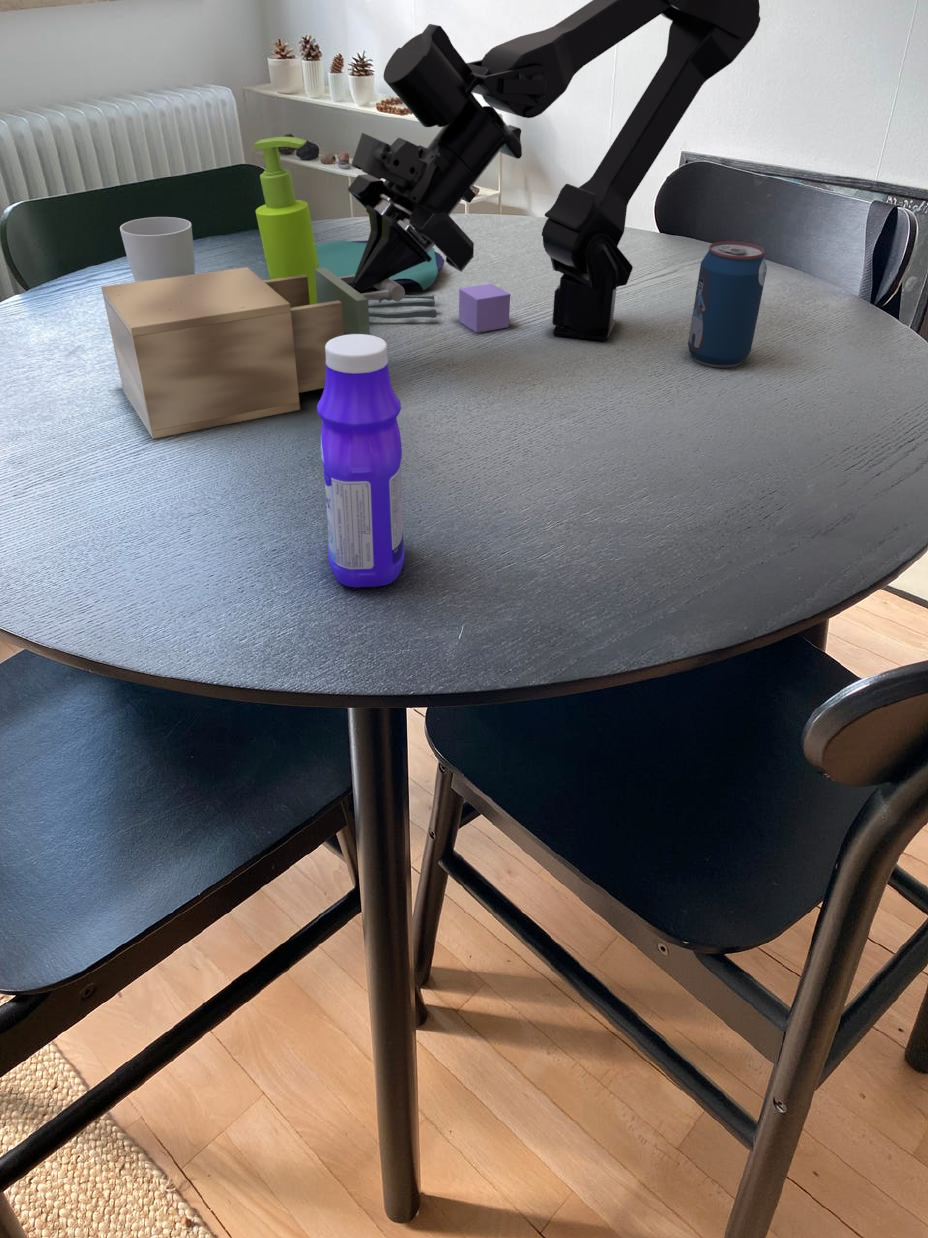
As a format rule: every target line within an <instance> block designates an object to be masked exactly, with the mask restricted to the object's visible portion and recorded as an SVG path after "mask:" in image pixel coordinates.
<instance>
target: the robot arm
mask: <svg viewBox="0 0 928 1238" xmlns="http://www.w3.org/2000/svg"><path fill="white" fill-rule="evenodd" d="M760 8H761V6H760V0H591V1H589V2H588V3H586V4H585V5H583V6H581V8H578V9H577V10H576V11H574V12H573V13H572V14H570V15H569V16H566V17H565V18H563V19H562V20H561V21H560V22H558V23H556V24H555V25H553V26H551V27H549V28H546V29H543V30H540V31H536V32H532V33H527V34H523V35H520V36H518V37H514V38H511V39H510V40H507V41H505V42H503V43H500V44H497V45H495V46H493V47H492V48H490V50H488V51H487V52H486V54H485V55H484V56H483V57H482V58H481V59H478V60H474V61H469V62H466V61H465V60H464V59H463V57H462V56H461V54H460V53H459V52H458V50H457V49H456V47H454V45H453V44H452V41H451V39H450V36H449V35H448V34H447V32H446V31H445V29H443V27H442V26H441V25H438V24H433V23H429V24H427V26H426V27H425V29H424V30H423V31H422V32H421V33H419V34H417V35H415V36H414V37H412V38H409V40H407V42H405V43H404V45H402V46H401V47H398V48H397V49H396V50H395V51H394V52H393V54H391V57H390V58H389V59H388V61H387V63H386V65H385V68H384V71H383V75H382V77H383V80H384V81H385V84H387V86H388V87H389V88H390V89H391V90H392V92H393V93H394V94H395V95H396V96H397V97H398V98H399V100H400V101H401V102H402V103H403V104H404V105H405V106H406V108H407V109H408V110H409V111H410V112H411V113H412V114H413V116H414V117H415V118H416V120H417V121H419V123H420V124H421V125H422V126H423V127H424V128H433V127H435V126H437V127H438V128H441V129H440V130H439V132H438V133H437V134H436V136H435V137H434V138H433V140H431V142H430V143H429V144H428V146H427V147H425V146H422V145H420V144H418V145H416V144H415V143H413V142H410V141H409V140H406V139H404V138H402V137H397V138H396V139H395V140H394V141H393V142H392V143H391V145H390V144H389V143H387V142H385V141H382V140H380V139H377V138H376V137H374V136H371V135H368V134H366V133H363V132H362V133H361V135H360V137H359V139H358V140H359V141H358V143H357V146H356V149H355V152H354V155H353V157H352V161H351V163H350V164H351V165H350V166H351V167H353V168H355V169H358V170H360V171H361V172H362V173H364V174H358V175H357V176H356V177H355V179H354V180H353V181H352V182H351V184H350V185H349V187H347V191H348V192H349V193H350V194H351V196H352V197H354V198H355V199H356V201H358V202H359V203H360V205H361V206H362V207H364V209H365V210H366V213H367V214H368V219H369V227H370V232H369V235H368V239H367V241H368V242H367V245H366V248H365V250H364V253H363V256H362V258H361V261H360V264H359V266H358V269H357V271H356V274H355V277H354V279H353V284H354V285H355V286H356V287H355V288H357V289H358V290H359V291H363V292H364V291H366V290H367V289H370V288H372V287H371V286H373V285H375V284H377V283H379V282H381V281H383V280H385V279H387V278H389V277H391V276H394V275H396V274H398V273H400V272H402V271H404V270H407V269H409V268H411V267H414V266H416V265H418V264H421V263H423V262H430V261H431V260H432V258H431V257H430V256H429V255H428V253H429V252H430V250H431V249H432V248H434V247H436V248H437V249H438V250H439V251H440V252H441V253H442V254H443V255H444V256H445V262H446V263H447V264H448V265H449V266H450V267H452V268H453V269H455V270H457V271H459V272H461V273H462V272H463V271H464V269H465V268H466V267H467V266H468V264H469V263H470V262H471V261H472V259H473V258H474V253H475V251H474V250H475V243H474V241H473V239H471V238H470V237H469V236H468V235H467V233H465V232H464V230H463V229H462V228H461V227H460V226H459V225H458V224H457V222H456V221H455V220H453V218H452V217H451V214H452V213H453V212H454V210H455V209H456V208H457V206H458V205H459V204H460V203H461V201H464V202H467V203H468V204H470V203H471V202H472V201H473V200H474V199H475V197H476V196H477V194H476V192H474V190H473V189H472V188H473V186H474V185H475V183H476V182H477V181H478V180H479V179H480V177H481V176H482V174H483V173H484V172H485V170H486V169H487V168H488V167H489V166H490V164H491V163H492V162H493V161H494V159H495V158H496V157H497V155H499V153H501V154H503V155H506V156H509V157H512V158H514V159H517V160H518V159H519V160H520V159H522V155H523V149H522V142H521V136H522V129H521V128H520V127H519V126H518V127H517V126H514V125H512V124H508V125H507V123H506V121H504V119H503V118H502V117H501V116H500V114H499V113H498V111H502V112H505V113H508V114H511V115H515V116H517V117H521V118H524V119H525V118H526V119H532V118H536V117H537V116H540V115H542V114H543V113H544V112H545V111H546V110H547V109H548V108H550V106H552V105H553V104H554V103H555V102H556V101H557V100H558V99H559V98H560V97H561V96H562V95H563V94H564V93H565V92H566V91H567V89H568V88H569V85H570V83H571V82H572V80H573V78H574V76H575V75H576V74H577V73H578V72H579V71H580V70H582V68H584V67H585V66H586V65H588V64H589V63H590V62H592V61H594V60H595V59H597V58H598V57H600V56H601V55H603V54H604V53H605V52H607V51H609V50H610V49H611V48H613V47H614V46H616V45H617V44H619V43H620V42H621V41H623V40H625V39H627V38H628V37H629V36H631V35H632V34H634V33H635V32H636V31H638V30H640V29H641V28H642V27H644V26H645V25H647V24H649V23H650V22H651V21H652V20H654V19H656V18H657V17H659V16H662V17H663V18H665V19H667V20H668V21H670V22H671V24H670V26H669V29H668V37H667V47H666V54H665V57H664V59H663V61H662V62H661V64H660V66H659V68H658V69H657V70H656V73H655V74H654V76H653V77H652V79H651V80H650V82H649V84H648V85H647V87H646V88H645V90H644V92H643V93H642V95H641V97H640V98H639V100H638V102H637V103H636V105H635V106H634V108H633V109H632V112H630V114H629V116H628V117H627V119H626V121H625V122H624V124H623V126H622V127H621V129H620V131H619V133H618V134H617V135H616V137H615V139H614V140H613V142H612V143H611V145H610V147H609V149H608V150H607V152H606V153H605V155H604V156H603V158H602V160H601V161H600V163H599V164H598V166H597V168H596V169H595V171H594V172H593V175H592V176H590V178H589V179H588V180H587V181H585V182H584V183H583V184H582V185H580V186H579V187H578V186H575V185H573V184H570V183H565V184H564V186H563V187H562V188H561V189H560V191H559V193H558V195H557V198H556V200H555V202H554V203H553V205H552V206H551V207H550V209H549V210H547V211H546V212H545V213H544V217H545V218H547V219H546V220H545V223H544V225H543V227H542V231H541V236H542V245H543V249H544V251H545V253H546V254H547V255H548V257H549V258H550V261H551V265H552V269H553V271H555V272H559V273H560V274H562V275H561V276H560V278H559V284H558V286H557V287H556V288H555V290H554V295H553V307H552V308H553V309H552V325H553V326H555V327H554V328H553V329H552V335H553V336H560V337H570V338H575V339H577V338H578V339H586V340H594V341H595V340H596V341H602V342H605V341H608V339H609V338H610V336H611V334H612V331H613V330H614V328H615V326H616V319H615V318H614V317H615V316H614V315H615V307H616V297H617V288H618V287H622V286H627V284H628V282H629V279H630V277H631V274H632V271H633V264H631V262H630V261H629V260H628V259H627V257H626V256H625V254H623V252H622V251H621V249H620V248H619V247H618V246H619V245H620V242H621V239H622V238H623V235H624V233H625V229H626V228H625V227H626V219H627V211H628V205H629V202H630V201H631V199H632V197H633V196H634V194H635V193H636V191H637V189H638V188H639V186H640V185H641V183H642V181H643V180H644V179H645V177H646V175H647V174H648V172H649V171H650V169H651V168H652V166H653V164H654V162H656V160H657V158H658V156H659V155H660V153H661V151H662V150H663V148H664V147H665V145H666V143H667V142H668V140H670V137H671V136H672V134H673V132H674V131H675V129H676V128H677V126H678V125H679V123H680V122H681V119H682V118H683V116H684V115H685V114H686V112H687V110H688V109H689V107H690V106H691V104H692V103H693V101H694V99H695V98H696V97H697V94H698V93H699V92H700V90H701V88H702V87H703V85H704V84H705V83H706V82H707V81H708V80H709V79H711V78H713V77H714V76H715V75H717V74H718V73H719V72H721V71H722V70H724V69H725V68H726V67H728V66H729V65H730V64H732V63H733V62H734V61H735V60H736V59H737V57H738V56H739V55H740V54H741V52H742V51H743V50H744V49H745V48H746V46H747V45H748V44H749V43H750V42H751V41H752V39H753V38H754V36H755V35H756V32H757V30H758V28H759V26H760V23H761V16H760V10H761V9H760ZM473 93H474V94H476V95H481V97H482V98H483V101H484V102H485V103H486V104H487V105H484V106H482V104H481V103H480V102H479V101H478V99H477V98H476V97H475V96H474V94H473ZM497 110H498V111H497Z"/></svg>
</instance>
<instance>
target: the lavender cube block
mask: <svg viewBox="0 0 928 1238" xmlns="http://www.w3.org/2000/svg"><path fill="white" fill-rule="evenodd" d="M510 307H511V293H509V292H507V291H505V290H504V289H502V288H500V287H498V286H496V285H495V284H493V283H487V284H480V285H473V286H467V287H466V286H465V287H461V288H458V322H459V323H461V324H462V325H464V326H465V327H466V328H468V329H470V330H471V331H473V332H474V333H475V334H479V333H483V332H485V333H486V332H489V331H494V330H501V329H506V328H509V327H510V310H511V309H510Z"/></svg>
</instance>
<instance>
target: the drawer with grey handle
mask: <svg viewBox="0 0 928 1238" xmlns="http://www.w3.org/2000/svg"><path fill="white" fill-rule="evenodd" d="M354 277H355V275H348V276H341V277H337V276H336V275H334V274H333V273H332V272H330V271H329V270H328V269H326V268H318V269H315V282H316V295H317V304H312V305H310V300H309V288H308V277H307V276H306V275H298V276H290V277H283V278H276V279H270V278H269V279H262V280H263V281H264V282H265V283H266V284H267V285H269V286H270V287H271V288H272V289H273V290H274V291H276V292H277V293H278V294H279V295H280V296H281V297H283V298H284V299H285V300H286V301H287V302H288V303H290V309H291V319H292V330H293V340H294V351H295V362H296V372H297V383H298V393H305V392H310V391H316V390H321V389H324V388H325V381H326V352H325V345H326V343H327V342H328V341H329V340H331V339H333V338H335V337H339V336H343V335H349V334H366V335H371V331H370V317H369V312H370V308H369V306H368V305H369V301H373V299H379V298H386V297H390V298H391V299H392V300H391V301H393V302H396V301H403V299H404V298H403V297H404V295H406V291H405V288H404V287H403V286H402V285H399V284H398V283H396V282H395V281H393V280H392V279H390V278H387V279H385V280H383V281H381V282H379V283H377V284H375V285H373V286H374V287H373V288H376V289H377V290H376V291H369V292H363V293H360V292H359V291H358V290H357V289H355V287H351V286H349V285H348V284H347V283H351V282H353V279H354Z"/></svg>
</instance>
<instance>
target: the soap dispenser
mask: <svg viewBox="0 0 928 1238" xmlns="http://www.w3.org/2000/svg"><path fill="white" fill-rule="evenodd" d="M306 143H307V139H303V138H299V137H293V136H275V137H269V138H263V139H259V140H257V141H256V142H254V143H253V147H254V148H253V149H254V150H255V151H257V150H262V155H263V160H264V164H265V170H263V172H262V173H261V174H260V175H259V180H260V184H261V190H262V194H263V199H264V204H263V205H261V206H259V207H257V208H256V209H255V215H256V221H257V226H258V230H259V234H260V239H261V244H262V249H263V254H264V257H265V262H266V267H267V273H268V277H269V279H276V278H283V277H290V276H298V275H306V276H307V277H308V288H309V300H310V305H312V304H317V295H316V282H315V269H318V268H319V263H318V258H317V252H316V246H317V245H316V241H315V236H314V235H315V234H314V231H313V225H312V219H311V214H310V208H309V203H308V202H307V201H305V200H301V199H296V194H295V189H294V184H293V178H292V177H293V176H292V172H291V171H290V170H289V169H287V168H285V167H282V161H281V157H280V150H279V148H292V149H293V148H294V149H300V148H302V147H303V146H304V145H305V144H306Z"/></svg>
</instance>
